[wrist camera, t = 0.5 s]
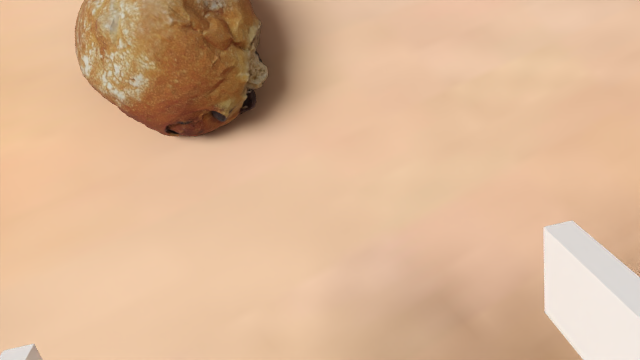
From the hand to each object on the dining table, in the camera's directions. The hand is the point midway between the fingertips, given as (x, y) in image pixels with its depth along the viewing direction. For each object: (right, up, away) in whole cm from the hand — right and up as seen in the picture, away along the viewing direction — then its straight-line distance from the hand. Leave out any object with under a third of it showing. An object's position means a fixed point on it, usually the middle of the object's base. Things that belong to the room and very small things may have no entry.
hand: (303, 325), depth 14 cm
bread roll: (-8, +11, +18) cm, 23 cm away
